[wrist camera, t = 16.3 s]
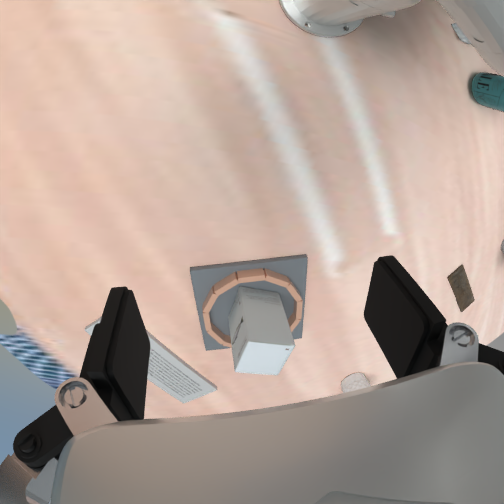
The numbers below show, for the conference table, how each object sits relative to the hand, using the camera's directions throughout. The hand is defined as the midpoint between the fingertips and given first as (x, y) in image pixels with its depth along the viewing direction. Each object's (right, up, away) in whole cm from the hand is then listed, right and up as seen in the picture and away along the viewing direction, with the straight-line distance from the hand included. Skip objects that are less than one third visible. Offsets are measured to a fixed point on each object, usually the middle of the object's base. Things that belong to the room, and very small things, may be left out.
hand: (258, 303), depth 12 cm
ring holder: (0, -8, +45) cm, 46 cm away
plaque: (-20, -20, +50) cm, 58 cm away
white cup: (+26, -31, +64) cm, 75 cm away
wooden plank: (+50, -7, +53) cm, 74 cm away
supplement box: (0, -7, +44) cm, 44 cm away
